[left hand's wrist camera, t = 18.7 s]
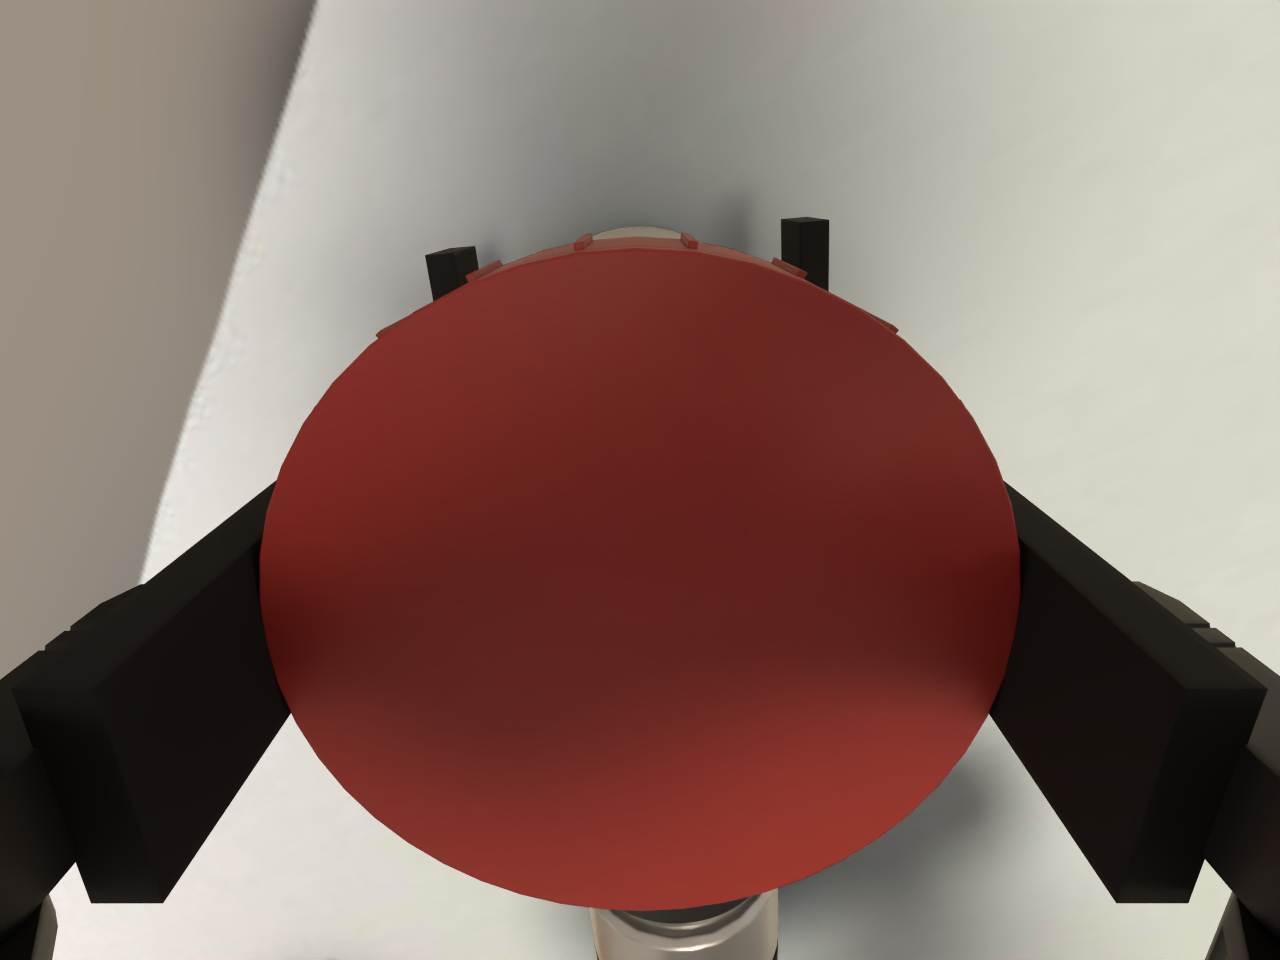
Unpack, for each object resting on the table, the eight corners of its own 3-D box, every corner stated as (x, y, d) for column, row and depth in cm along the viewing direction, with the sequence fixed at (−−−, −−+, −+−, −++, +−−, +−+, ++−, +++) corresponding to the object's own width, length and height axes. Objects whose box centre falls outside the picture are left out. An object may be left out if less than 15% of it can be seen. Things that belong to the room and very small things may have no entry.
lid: (1085, 447, 11) (1195, 509, 9) (736, 868, 15) (754, 992, 12) (492, 84, 10) (447, 50, 7) (242, 656, 13) (157, 756, 11)
